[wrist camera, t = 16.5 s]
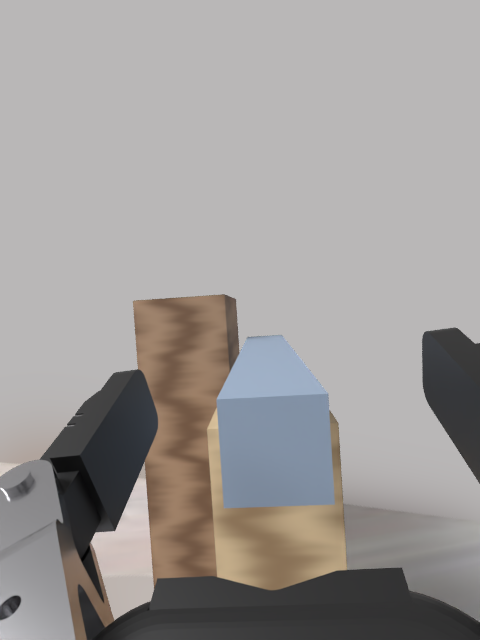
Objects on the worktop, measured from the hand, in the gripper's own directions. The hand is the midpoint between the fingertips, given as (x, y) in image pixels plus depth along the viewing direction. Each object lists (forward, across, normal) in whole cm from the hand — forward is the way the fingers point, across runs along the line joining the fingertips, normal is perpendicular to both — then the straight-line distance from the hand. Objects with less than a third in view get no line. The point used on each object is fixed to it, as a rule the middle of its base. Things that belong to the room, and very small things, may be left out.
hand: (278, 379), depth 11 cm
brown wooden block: (+24, +15, +38) cm, 48 cm away
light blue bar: (+14, +2, +11) cm, 18 cm away
